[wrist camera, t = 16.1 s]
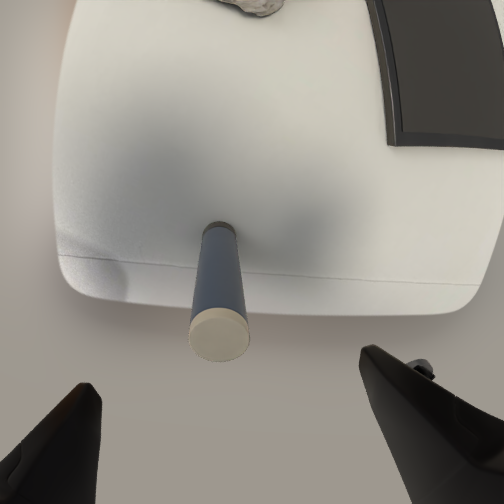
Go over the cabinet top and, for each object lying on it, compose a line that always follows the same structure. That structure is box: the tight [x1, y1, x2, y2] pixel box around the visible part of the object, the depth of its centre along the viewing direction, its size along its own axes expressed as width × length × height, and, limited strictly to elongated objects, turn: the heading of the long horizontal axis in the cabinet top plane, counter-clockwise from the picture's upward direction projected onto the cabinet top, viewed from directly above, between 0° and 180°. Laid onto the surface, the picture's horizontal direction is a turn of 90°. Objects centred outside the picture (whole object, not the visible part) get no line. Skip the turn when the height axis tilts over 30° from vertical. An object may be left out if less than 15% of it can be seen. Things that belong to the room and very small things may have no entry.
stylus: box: [188, 222, 250, 362], centre depth 15 cm, size 2×2×10 cm
